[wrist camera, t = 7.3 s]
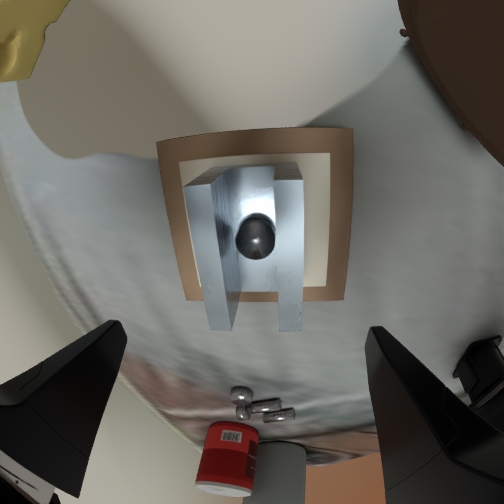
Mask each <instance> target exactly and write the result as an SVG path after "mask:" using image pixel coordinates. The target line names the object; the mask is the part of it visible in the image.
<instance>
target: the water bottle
mask: <svg viewBox="0 0 504 504" xmlns="http://www.w3.org/2000/svg"><path fill="white" fill-rule="evenodd" d="M305 481H306V451H305V449H304V448H303V447H301V446H299V445H296V444H292V443H287V442H268V443H262V444H259V445H258V450H257V458H256V467H255V475H254V483H253V489H252V493H251V495H250V496H246V497H243V504H305Z"/></svg>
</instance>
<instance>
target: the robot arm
mask: <svg viewBox="0 0 504 504" xmlns="http://www.w3.org/2000/svg"><path fill="white" fill-rule="evenodd" d="M501 341H502V337H501V336H498V337H494V338H490V339H487V340H483V341H479V342H475V343H472V344H471V345H470V346H469V348H468V350H467V352H466V353H465V355H464V357H463V359H462V360H461V362H460V364H459V366H458V367H457V369H456V370H455V372H454V374H453V378H458V377H459V379H460V381H461V383H462V385H463V388H464V390H465V393H466V394H468V395H469V397H470V400H471V402H472V403H471V404H470V405H468V406H467V405H466V404H465V403H464V402H462V401H461V400H460V399H459V398H458V397H457V396H456V395H455V394H454V393H453V392H452V391H451V390H450V389H449V388H448V387H445V385H444V384H443V383H442V382H441V381H440V380H439V379H438V378H437V377H436V376H435V375H434V374H433V373H432V372H431V371H430V370H429V369H428V368H427V367H426V366H425V365H424V364H423V363H421V362H420V361H419V360H418V359H417V358H416V357H415V356H414V355H413V354H412V353H411V352H410V351H409V350H408V349H407V348H405V347H404V346H403V345H402V344H401V343H400V342H399V341H398V340H397V339H396V338H395V337H394V336H392V335H391V334H390V333H389V332H388V331H387V330H386V329H385V328H384V327H382V326H372V327H370V329H369V332H368V335H367V339H366V343H365V355H366V364H367V374H368V384H369V391H370V396H371V401H372V406H373V412H374V417H375V422H376V428H377V434H378V440H379V447H380V453H381V460H382V468H383V477H384V486H385V498H386V504H504V356H503V355H502V353H501V351H500V350H499V348H498V346H499V344H500V342H501ZM126 344H127V335H126V333H125V331H124V329H123V326H122V324H121V322H120V321H118V320H108V321H107V322H105V323H103V324H102V325H100V326H99V327H97V328H95V329H94V330H92V331H90V332H89V333H87V334H86V335H84V336H82V337H81V338H79V339H77V340H76V341H74V342H73V343H71V344H69V345H68V346H66V347H65V348H63V349H61V350H60V351H58V352H56V353H55V354H53V355H52V356H50V357H49V358H47V359H45V360H44V361H42V362H40V363H39V364H37V365H36V366H34V367H32V368H31V369H29V370H28V371H26V372H24V373H22V374H20V375H18V376H16V377H14V378H12V379H11V380H9V381H7V382H5V383H3V384H1V385H0V504H61V503H60V500H59V498H58V495H57V494H56V493H54V490H55V488H58V489H60V490H62V491H64V492H66V493H68V494H70V495H72V496H74V497H76V498H79V496H80V491H81V488H82V483H83V479H84V475H85V472H86V468H87V465H88V460H89V457H90V454H91V450H92V447H93V444H94V440H95V437H96V434H97V431H98V428H99V425H100V422H101V419H102V416H103V413H104V410H105V407H106V405H107V402H108V398H109V396H110V393H111V391H112V388H113V385H114V383H115V380H116V378H117V375H118V372H119V368H120V365H121V361H122V357H123V354H124V350H125V347H126Z"/></svg>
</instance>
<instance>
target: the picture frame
mask: <svg viewBox="0 0 504 504" xmlns="http://www.w3.org/2000/svg"><path fill="white" fill-rule="evenodd" d="M156 144H157V152H158V159H159V166H160V173H161V179H162V186H163V192H164V198H165V203H166V209H167V214H168V220H169V225H170V230H171V235H172V240H173V245H174V249H175V254H176V259H177V263H178V268H179V272H180V276H181V280H182V285H183V289H184V293H185V297H186V300H193V301H204V298H203V293H202V289H201V284H200V279H199V274H198V269H197V264H196V258H195V253H194V248H193V242H192V237H191V231H190V225H189V219H188V213H187V207H186V200H185V194H184V186H185V185H186V184H188V183H189V182H191V181H192V180H194V179H195V178H196V177H198V176H199V175H201V174H202V173H204V172H205V171H207V170H208V169H210V168H211V167H218V166H230V165H244V164H261V163H287V162H297V164H298V166H299V169H300V172H301V175H302V177H303V188H304V274H303V301H332V300H344V293H345V285H346V277H347V268H348V258H349V247H350V235H351V221H352V202H353V165H354V149H353V129H350V128H331V127H290V128H265V129H250V130H237V131H227V132H217V133H209V134H200V135H193V136H186V137H180V138H173V139H168V140H163V141H159V142H156ZM239 302H278V291H277V292H241V294H240V298H239Z"/></svg>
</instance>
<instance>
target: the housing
mask: <svg viewBox="0 0 504 504" xmlns="http://www.w3.org/2000/svg"><path fill="white" fill-rule="evenodd" d="M184 194H185V200H186V207H187V213H188V219H189V225H190V231H191V237H192V242H193V248H194V253H195V258H196V264H197V269H198V274H199V279H200V284H201V289H202V293H203V298H204V303H205V307H206V312H207V316H208V321H209V325H210V330H222V331H232V327H233V323H234V319H235V315H236V311H237V307H238V303H239V298H240V294H241V292H277V291H278V304H279V332H296V331H301V329H302V307H303V274H304V188H303V177H302V175H301V172H300V169H299V166H298V164H297V162H287V163H261V164H244V165H230V166H218V167H211V168H210V169H208V170H207V171H205V172H204V173H202V174H201V175H199V176H198V177H196V178H195V179H194V180H192V181H191V182H189V183H188V184H186V185H185V186H184Z"/></svg>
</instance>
